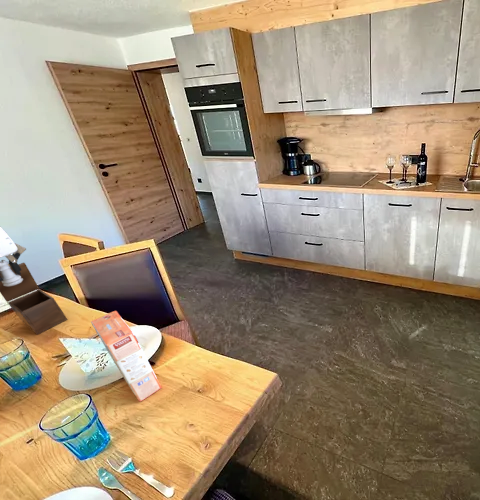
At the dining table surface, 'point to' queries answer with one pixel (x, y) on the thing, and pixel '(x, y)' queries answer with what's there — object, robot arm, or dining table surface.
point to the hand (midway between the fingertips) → (9, 276)
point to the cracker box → (127, 354)
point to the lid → (19, 285)
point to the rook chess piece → (9, 275)
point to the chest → (38, 311)
